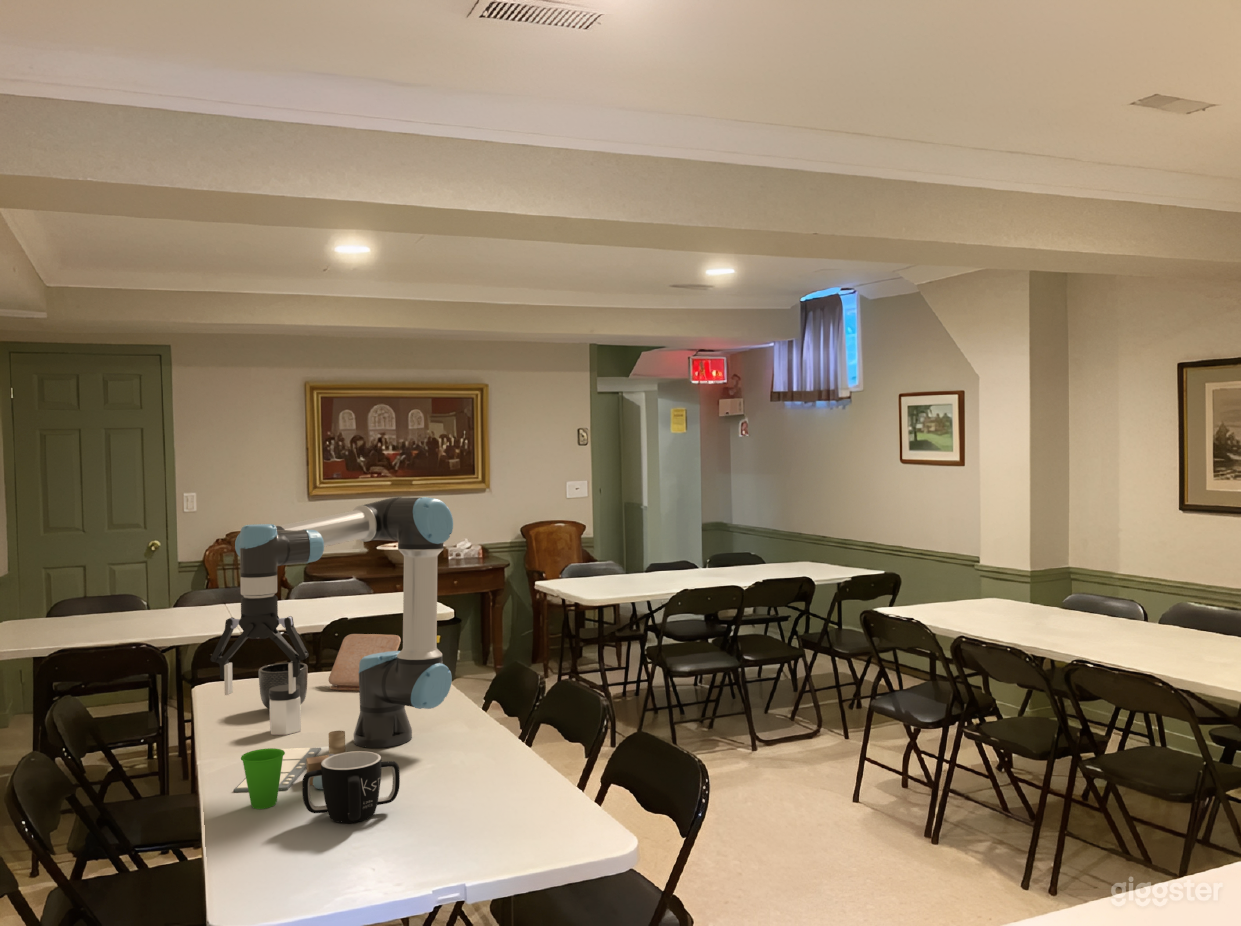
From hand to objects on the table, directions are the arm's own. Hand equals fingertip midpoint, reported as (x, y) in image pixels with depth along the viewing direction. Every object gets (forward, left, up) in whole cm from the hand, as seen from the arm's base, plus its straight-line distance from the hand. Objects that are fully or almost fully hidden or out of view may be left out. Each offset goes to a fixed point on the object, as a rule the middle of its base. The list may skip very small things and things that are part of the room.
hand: (260, 693), depth 209 cm
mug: (-21, +9, -25) cm, 34 cm away
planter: (+19, -81, -25) cm, 87 cm away
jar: (+12, -58, -25) cm, 64 cm away
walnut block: (-8, -15, -25) cm, 30 cm away
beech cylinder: (-8, -33, -25) cm, 42 cm away
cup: (0, 0, -25) cm, 25 cm away
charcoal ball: (-9, -23, -24) cm, 35 cm away
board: (+3, -24, -24) cm, 35 cm away
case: (0, -112, -25) cm, 115 cm away
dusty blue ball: (-10, -9, -24) cm, 28 cm away
